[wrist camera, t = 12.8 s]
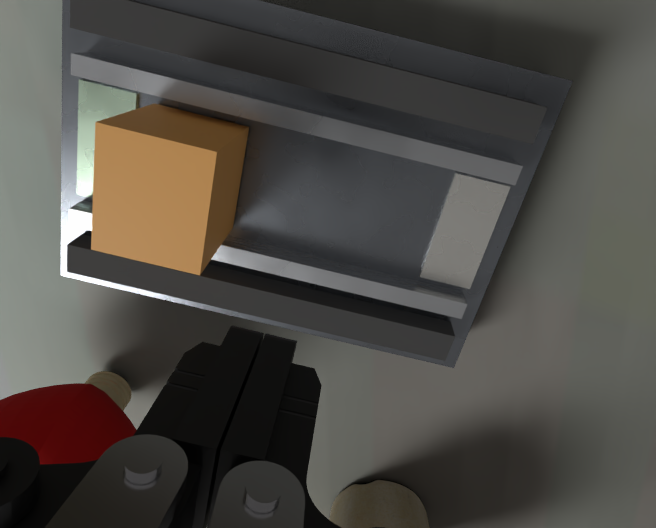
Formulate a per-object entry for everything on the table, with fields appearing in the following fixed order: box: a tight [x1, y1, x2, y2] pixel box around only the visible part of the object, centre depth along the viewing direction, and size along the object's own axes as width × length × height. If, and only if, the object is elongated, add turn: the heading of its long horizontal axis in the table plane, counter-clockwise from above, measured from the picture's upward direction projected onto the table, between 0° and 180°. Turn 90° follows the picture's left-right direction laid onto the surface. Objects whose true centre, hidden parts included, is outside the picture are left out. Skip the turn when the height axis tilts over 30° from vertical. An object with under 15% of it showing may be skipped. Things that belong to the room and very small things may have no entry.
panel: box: [61, 0, 573, 368], centre depth 23 cm, size 20×14×4 cm
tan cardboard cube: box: [91, 103, 249, 275], centre depth 19 cm, size 4×5×5 cm
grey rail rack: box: [67, 0, 547, 361], centre depth 21 cm, size 18×12×1 cm, turn 77°
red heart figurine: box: [0, 371, 137, 464], centre depth 26 cm, size 9×7×10 cm
